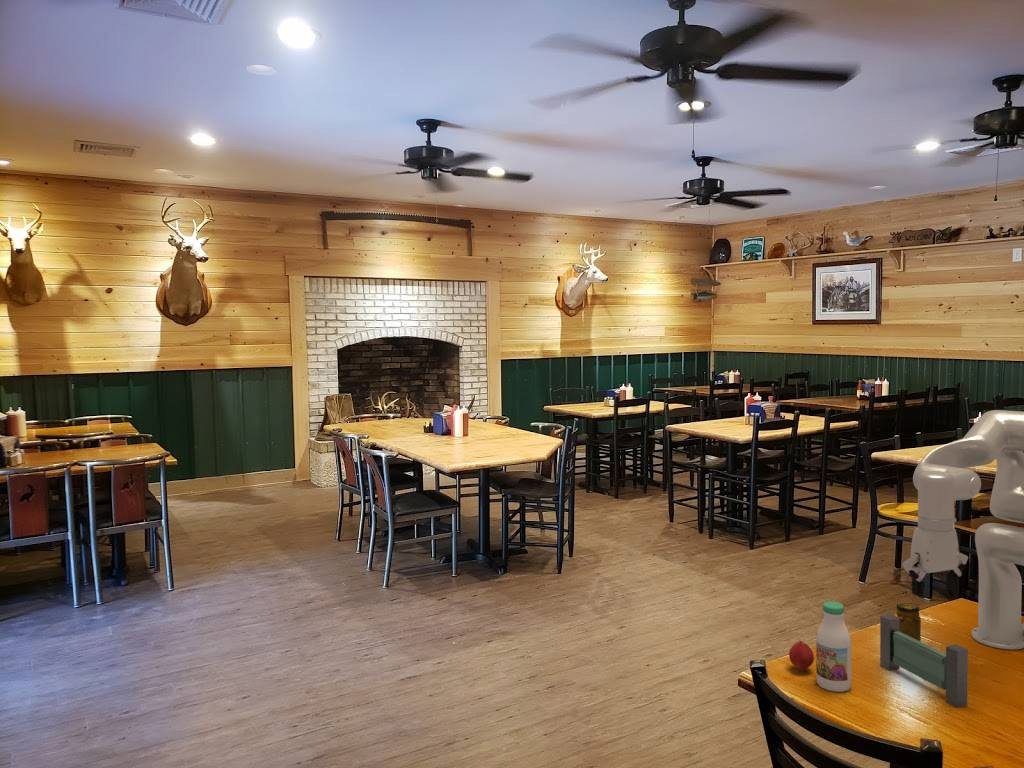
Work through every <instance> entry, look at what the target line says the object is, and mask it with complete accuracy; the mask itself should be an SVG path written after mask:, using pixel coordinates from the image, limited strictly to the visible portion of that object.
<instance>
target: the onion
mask: <svg viewBox="0 0 1024 768" xmlns="http://www.w3.org/2000/svg"><path fill="white" fill-rule="evenodd" d="M788 657H789V661H790V663H791V664H792V665H793V666H794V667H795V668H796V669H798V670H799V671H802V672H803V671H805V670H806V669H808V668H809V667H811V666H812V665H813V663H814V660H815V657H814V652H813V650H812V649H811V646H809V645H808V644H807V643H805V642H804V640H803V639H799V641H798V642H795V643H794V644H793V645H792V646H791V647H790V649H789V652H788Z"/></svg>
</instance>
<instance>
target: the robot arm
mask: <svg viewBox="0 0 1024 768" xmlns="http://www.w3.org/2000/svg"><path fill="white" fill-rule="evenodd" d="M994 461H996V471H995V473H996V474H995V477H994V483H993V486H992V490H991V491H992V492H991V495H990V501H989V512H990V513H991V514H992V515H993V516H994V517H995V518H998V519H1002V520H1005V521H1008V522H1013V523H1014V522H1015V523H1021V524H1024V411H1019V410H1004V409H994V410H989V411H986V412H984V413H982V415H981V416H980V417H979V418H978V420H977V421H976V422H975V423H974V424H973V426H972V427H971V428H970V429H969V430H968V431H967V433H966V434H965V435H964V436H963V437H962V438H960V439H957V440H953V441H952V442H948V443H946V444H943V445H940V446H938V447H936V448H934V449H933V450H931V451H928V453H927V454H925V456H924V457H923V458H922V459H921V460H920V462H919V463H918V465H917V466H916V467H915V470H914V472H913V476H912V482H913V485H914V487H915V489H916V490H917V527H916V528H914V531H913V535H912V540H911V545H910V556H909V558H907V559H906V560H904V561H903V562H902V566H903V569H904V572H905V574H907V575H908V577H909V578H910V579H911V594H912V595H914V596H916V597H918V598H921V599H922V598H924V597H925V581H924V580H923V579H924V578H925V576H926V574H931V573H939V572H940V573H941V572H946V577H945V578H946V581H945V582H946V587H945V588H946V589H947V590H948V591H951V592H953V593H954V594H959V593H960V577H961V576H962V572H963V571H964V570H965V568H966V564H967V561H968V559H969V556H968V555H966V554H964V553H962V552H960V548H959V539H958V533H957V529H955V523H956V522H957V518H956V517H955V501H966V500H970V499H973V498H974V497H976V496H977V495H978V494H979V492H980V491H981V489H982V488H981V487H982V480H981V478H980V476H979V474H978V473H976V471H974V470H972V469H968V468H975V467H981V466H985V465H988V464H991V463H992V462H994ZM975 531H976V532H975V533H974V543H975V549H976V554H977V559H978V609H977V610H978V612H977V613H978V615H977V616H978V618H977V619H978V620H977V625H978V626H976V627H974V628H972V629H971V637H972V638H973V639H974V640H975V641H976V642H979V643H980V644H982V645H986V646H988V647H991V648H996V649H1001V650H1011V651H1013V650H1014V651H1015V650H1021V649H1022V650H1023V649H1024V635H1023V634H1024V622H1022V589H1023V588H1022V585H1023V584H1022V576H1021V573H1020V571H1019V570H1018V568H1017V566H1016V565H1020V566H1024V527H1019V526H1017V525H1016V526H1015V525H1010V524H1004V523H997V522H987V523H983V524H982V525H980V526H978V528H977V529H976V530H975ZM1015 564H1016V565H1015ZM947 571H948V572H947Z"/></svg>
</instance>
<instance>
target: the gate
mask: <svg viewBox="0 0 1024 768" xmlns="http://www.w3.org/2000/svg"><path fill="white" fill-rule="evenodd" d="M893 641H894V657H893V663H894V664H896V665H898V666H899V668H902V669H903V670H905V671H907V672H909V673H911V674H913V675H914V676H917V677H919V678H920V679H922V680H924V681H926V682H928V683H930V684H932V685H934V686H936V687H937V688H939V689H941V690H943V691H946V652H943V651H941V650H939V649H937V648H935V647H933V646H930V645H929V644H926V643H924V642H920V641H918V640H916V639H914V638H912V637H910V636H908V635H905V634H903V633H901V632H899V631H897V632H894V635H893Z"/></svg>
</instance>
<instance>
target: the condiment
mask: <svg viewBox="0 0 1024 768" xmlns="http://www.w3.org/2000/svg"><path fill="white" fill-rule="evenodd" d="M894 616H895V617H898V618H899V632H901V633H903V634H905V635H908V636H910V637H912V638H914V639H916V640H918V641H920V642H921V638H922V637H921V635H922V634H921V631H922V629H921V628H922V626H921V625H922V622H921V621H922V620H921V619H922V618H921V617H920V607H919V606H918V605H916V604H914V603H911V602H899V603H897V604H896V613H895V614H894Z"/></svg>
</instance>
